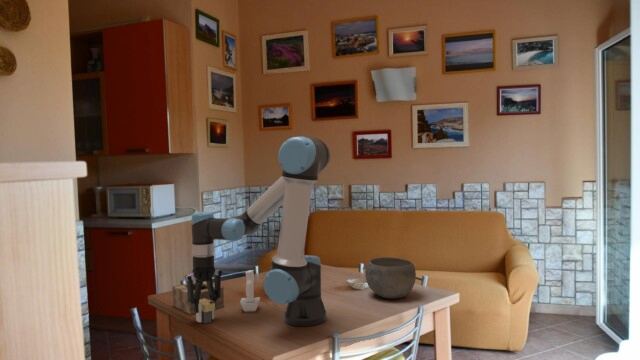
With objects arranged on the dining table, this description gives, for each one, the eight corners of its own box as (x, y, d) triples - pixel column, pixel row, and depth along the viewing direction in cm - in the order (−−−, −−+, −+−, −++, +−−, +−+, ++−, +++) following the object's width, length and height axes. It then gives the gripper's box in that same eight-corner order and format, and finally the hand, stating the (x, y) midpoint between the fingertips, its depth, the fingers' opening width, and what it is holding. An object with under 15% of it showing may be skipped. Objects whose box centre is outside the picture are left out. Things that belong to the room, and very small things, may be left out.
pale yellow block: (215, 309, 162) (215, 302, 162) (204, 312, 160) (204, 305, 160) (204, 305, 168) (204, 298, 168) (194, 307, 166) (194, 300, 166)
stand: (211, 321, 163) (211, 309, 163) (205, 323, 161) (204, 310, 161) (205, 318, 167) (204, 306, 167) (198, 320, 165) (198, 307, 165)
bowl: (426, 299, 185) (425, 262, 184) (381, 306, 177) (380, 268, 177) (398, 287, 204) (398, 254, 204) (357, 293, 196) (356, 258, 196)
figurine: (239, 313, 171) (238, 274, 171) (242, 306, 181) (241, 268, 180) (259, 313, 172) (258, 273, 172) (260, 305, 181) (259, 268, 181)
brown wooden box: (223, 307, 180) (223, 287, 180) (190, 315, 171) (189, 294, 171) (205, 299, 192) (204, 280, 192) (173, 306, 183) (172, 286, 183)
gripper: (219, 250, 172) (221, 312, 172) (175, 257, 161) (177, 323, 161) (229, 253, 166) (231, 316, 167) (185, 260, 155) (186, 328, 156)
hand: (205, 319), depth 164 cm, fingers open, 4 cm apart
